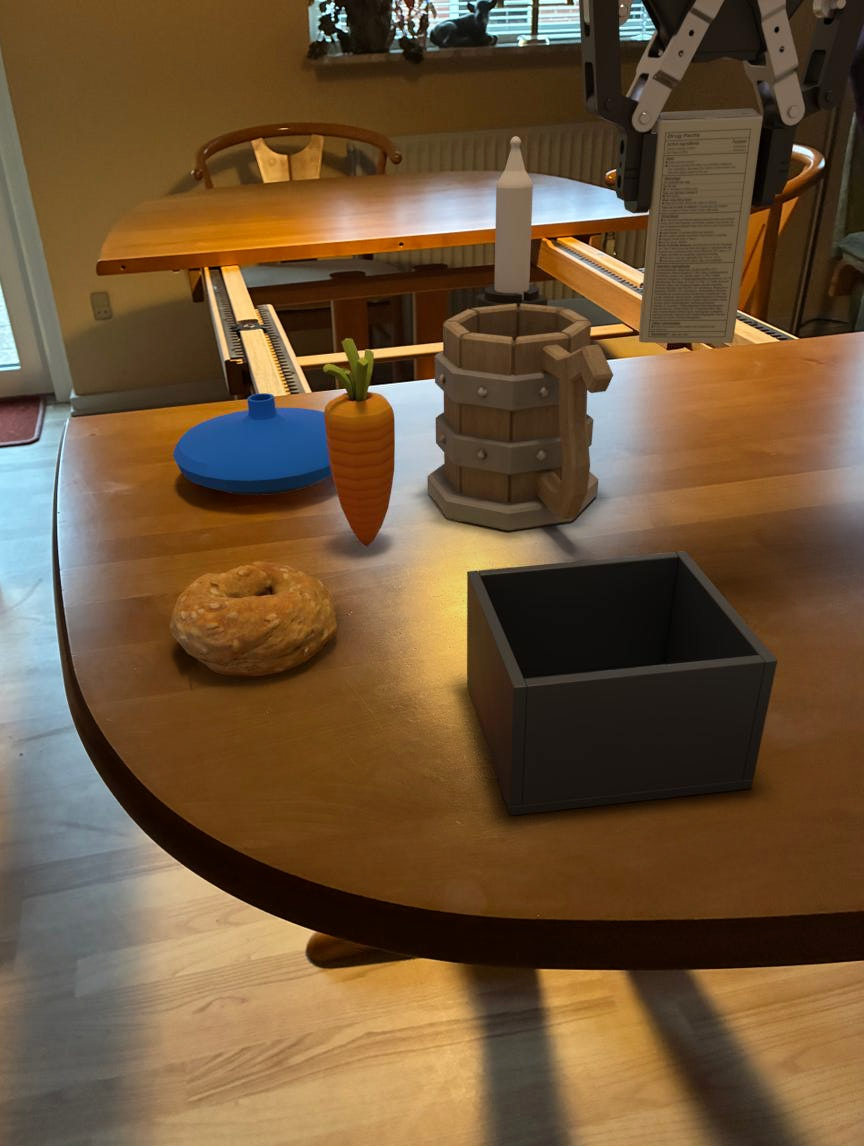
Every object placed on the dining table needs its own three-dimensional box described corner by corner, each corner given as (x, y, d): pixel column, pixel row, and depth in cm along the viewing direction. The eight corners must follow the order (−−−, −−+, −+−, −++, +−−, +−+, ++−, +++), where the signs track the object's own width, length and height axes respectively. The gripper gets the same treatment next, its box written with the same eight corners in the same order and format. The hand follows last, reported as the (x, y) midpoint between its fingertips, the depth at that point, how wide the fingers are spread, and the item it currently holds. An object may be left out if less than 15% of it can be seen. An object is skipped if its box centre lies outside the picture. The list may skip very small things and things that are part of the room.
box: (729, 326, 56) (762, 107, 50) (733, 346, 53) (769, 113, 47) (635, 323, 57) (657, 109, 52) (633, 343, 54) (656, 115, 48)
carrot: (394, 562, 71) (384, 353, 63) (327, 559, 71) (309, 353, 64) (404, 532, 75) (397, 333, 67) (341, 529, 76) (326, 332, 68)
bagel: (377, 632, 62) (373, 566, 60) (239, 708, 56) (228, 637, 54) (278, 583, 69) (271, 521, 66) (144, 646, 62) (130, 580, 60)
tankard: (415, 477, 84) (410, 296, 76) (553, 458, 86) (562, 280, 78) (495, 584, 67) (499, 367, 59) (663, 556, 70) (690, 344, 62)
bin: (670, 665, 58) (685, 550, 54) (752, 788, 48) (778, 660, 44) (466, 686, 57) (466, 571, 53) (509, 816, 48) (514, 687, 44)
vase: (181, 525, 77) (166, 440, 74) (175, 455, 91) (163, 379, 87) (376, 501, 80) (372, 417, 76) (343, 436, 93) (338, 361, 89)
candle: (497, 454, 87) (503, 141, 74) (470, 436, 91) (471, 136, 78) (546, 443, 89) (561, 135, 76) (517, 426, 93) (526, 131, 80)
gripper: (615, -224, 39) (583, 227, 48) (959, -231, 40) (865, 212, 49) (566, -188, 45) (546, 205, 54) (864, -194, 46) (796, 192, 55)
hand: (697, 207), depth 52 cm, fingers closed on box, 6 cm apart
